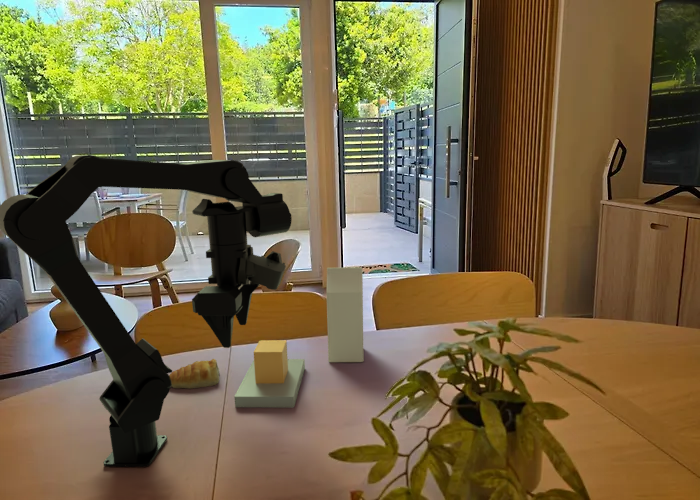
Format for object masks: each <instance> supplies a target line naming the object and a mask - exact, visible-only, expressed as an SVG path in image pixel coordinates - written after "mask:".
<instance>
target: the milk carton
mask: <svg viewBox="0 0 700 500" xmlns="http://www.w3.org/2000/svg"><path fill="white" fill-rule="evenodd" d="M363 287H364V285H363V267H326V292H325V293H326V316H327V317H326V321H327V322H326V323H327V353H328V354H327V356H328V360H327V361H328V362H329V363H364V300H363V299H364V298H363V297H364V294H363V293H364V292H363V289H364V288H363Z"/></svg>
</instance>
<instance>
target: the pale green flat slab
mask: <svg viewBox="0 0 700 500" xmlns="http://www.w3.org/2000/svg"><path fill="white" fill-rule="evenodd" d="M287 359H288V372H287V375H286V378H285V381H284V383H256V381H255V367H254V360H253V361H252V363H251V364H250V367H249V368H248V370H247V372H246V374H245V376H243V377H244V378H243V380H242V382H241V383H240V385H239V387H238V389H237V391H236V392H235V394H234V407H235V408H295V405H296V401H297V398H298V394H299V390H300V388H301V385H302V380H303V377H304V373H305V368H306V365H305V364H306V363H305V358H287Z"/></svg>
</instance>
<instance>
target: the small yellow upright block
mask: <svg viewBox="0 0 700 500" xmlns="http://www.w3.org/2000/svg"><path fill="white" fill-rule="evenodd" d="M288 359H289V358H288V342H287V340H285V339H284V340H283V339H279V340H277V339H273V340H272V339H271V340H269V339H268V340H265V339H262V340H261V339H260V340H259V341H258V342H257V345H256V346H255V348H254V350H253V361H254V367H255V381H256V383H284V381H285V378H286V375H287V372H288Z"/></svg>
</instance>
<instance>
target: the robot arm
mask: <svg viewBox="0 0 700 500" xmlns="http://www.w3.org/2000/svg"><path fill="white" fill-rule="evenodd" d="M249 176H250V175H249V172H248V169H247V168H246V166H244V164H243V163H242V162H241V161H238V160H234V159H210V160H209V159H208V160H199V161H191V162H183V163H174V162H173V163H172V162H171V163H170V162H160V161H159V162H158V161H147V160H146V161H145V160H133V159H121V158H120V159H119V158H117V159H116V158H106V157H99V156H96V155H92V154H81V155H80V154H79V155H77V154H76V155H74V156H72V157H71V158H69V160H67V162H66V163H65V164H64V165H63V166H61V167H60V168H59V169H58V170H56V171H55V172H53V173H52V174H51V175H49V176H48V177H47V178H45V179H44V180H42V181H41V182H40V183H38V184H37V185H36V186H34V187H33V188H32V189H31V190H29V191H28V192H27V193H26V194H15V195H13V196H9V198H7V199H5V200H4V201H3V202H1V204H0V231H1V232H2V233H3V234H4V235H5V237H7V238H8V239H10V240H11V241H12V242H13V243H14V245H16V246H17V248H19V249H20V250H21V251H22V252H24V253H25V254H26V255H27V256H28V257H29V258H30V259H31V261H33V262H34V263H36V265H37V266H39V268H41V270H42V271H44V272H45V273H46V275H47V276H48V278H49V279H50V280H51V282H52V284H54V286H55V288H56V289H57V290H58V291H59V293H60V294H61V296H62V297H63V298H64V300H65V301H66V303H67V304H68V305H69V307H70V308H71V310H72V311H73V312H74V314H75V315H76V316H77V318H78V319H79V320H80V322H81V323H82V324H83V327H84V328H85V329H86V330H87V332H88V333H89V335H90V336H91V337H92V338H93V340H94V341H95V343H96V344H97V345H98V347H99V348H100V350H101V351H102V353H103V355H104V357H105V361H106V364H107V367H108V371H109V372H110V375H111V377H112V381H110V383H109V385H108V386H107V387H106V388H105V390H104V391H103V392H102V394H101V395H100V396H99V399H98V400H99V401H100V403H101V404H102V406H103V407H104V408H105V410H107V412H108V413H109V414H110V416H109V419H108V420H109V425H108V429H109V435H110V442H111V443H110V444H111V450H112V451H111V452H110V454H109V455H107V457H106V459H104V461H103V466H104V467H119V468H120V467H122V468H123V467H124V468H125V467H126V468H129V467H132V468H134V467H135V468H136V467H137V468H146V467H149V466H150V465H151V464H152V462H153V461H154V459H155V458H156V456H157V455H158V454H159V452H160V450H162V447H164V445H165V443H166V442H167V440H168V436H167V435H158V433H157V424H156V421H159V419H160V417H161V413H162V409H163V406H164V401H165V399H166V398H167V396H168V395H169V393H170V389H171V388H172V387H171V386H172V381H171V379H170V376H169V375H170V374H171V373H172V372H173V370H172V369H171V368H170V367H169V366H168V365H167V364H165V363H164V359H163V357H162V354H161V353H160V351H159V349H157V347H155V346H153V345H152V344H151V343H149V341H148V340H146V339H145V338H143V337H142V338H141V339H140V340H139V341H138V342H135V340H134V339H133V337H132V336H131V334H130V333H129V332H128V330H127V329H126V327H125V325H124V324H123V322H122V321H121V320H120V318H119V317H118V315H117V313H115V311H114V309H113V308H112V307H111V305H110V304H109V302H108V300H107V299H106V298H105V295H103V293H102V291H101V289H100V288H99V287H98V286H97V284H96V282H95V281H94V280H93V278H92V277H91V275H90V273H88V270H87V269H86V268H85V266H84V264H83V263H82V261H81V260H80V258H79V255H78V252H77V247H76V245H75V241H74V238H73V235H72V233H71V231H70V228H69V225H68V224H67V221H68V220H69V219H70V218H71V217H72V216H74V214H75V213H76V212H78V211H79V210H80V208H81V207H82V206H83V205H84V204H85V202H86V201H87V200H88V199H89V197H91V195H92V194H93V193H94V192H95V191H96V190H98V188H103V187H104V188H122V189H123V188H124V189H125V188H126V189H151V190H153V189H154V190H155V189H156V190H175V191H176V190H180V191H186V192H190V193H193V194H198V195H203V196H208V197H212V198H219V199H225V200H226V201H223V202H213V201H212V200H211V199H209V198H202V199H201V200H200V203H199V204H198V205H197V206H195V207H194V208H193V210H192V215H194V216H201V217H203V218H204V217H206V218H207V231H208V242H209V249H208V250H206V251H205V258H206V259H210V265H211V267H210V268H211V274H210V275H209V276H208V277H207V280H208V283H207V284H209V285H206V286H204V287H203V288H202V289H201V290H200V291H198V292H197V293H196V294H195V296H193V298H191V301H192V312H193V313H195V314H197V315H198V316H201V317H202V318H203V320H204V322H206V324H207V325H208V327H209V328H210V329H211V330H212V333H213V334H214V335H215V336H216V338H217V339H218V341H219V343H220V344H221V345H222V347H223V348H225V349H230V348H231V347H232V342H233V341H232V340H233V331H234V317H235V318H236V319H237V323H238V325H240V326H246V325H247V323H248V317H249V311H250V306H251V301H252V295H253V293H254V292H255V290H256V289H257V288H258V287H259V286H263V287H265V288H266V289H268V290H272V291H276V290H278V288H279V286H280V285H281V283H282V280H283V276H284V273H285V271H286V267H287V266H286V262H283V261H282V254H281V253H280V252H276V251H274V250H272V251H270V253H269V254H268V255H267V256H265V255H261V256H259V255H258V254H257V255H256V254H254V248H253V246H252V245H251V244H248V234H249V235H250V236H251V237H253V238H260V237H264V236H265V237H266V236H272V235H278V234H285V233H287V232H288V231H289V230H290V229H291V226H292V217H293V216H292V214H291V213H292V212H290V209H289V207H288V204H287V203H286V201H284V199H283V197H284V196H283V195H284V194H283V193H281V192H271V193H268V194H261V193H260V191H259V190H258V188H257V187H256V186H255V185H254V184H253V182H252V180H250V177H249ZM232 202H234V203H241V206H235V205H234V203H232ZM247 233H248V234H247Z"/></svg>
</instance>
